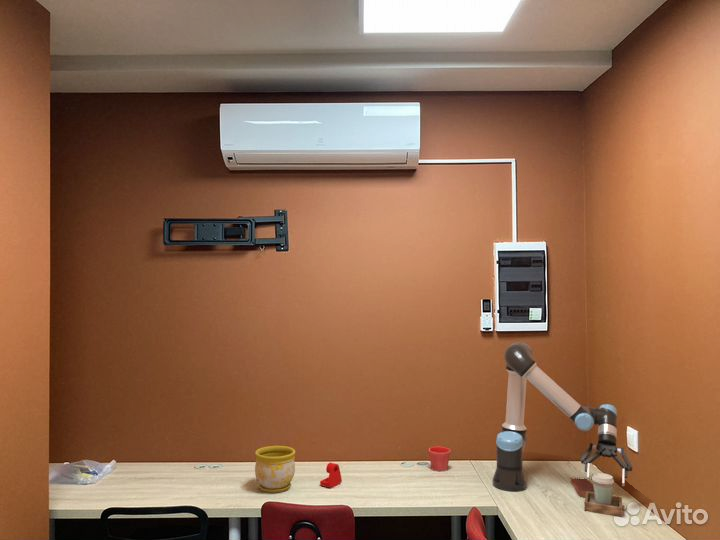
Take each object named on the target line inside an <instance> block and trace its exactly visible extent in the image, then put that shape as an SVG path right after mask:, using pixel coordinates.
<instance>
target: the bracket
mask: <svg viewBox="0 0 720 540" xmlns="http://www.w3.org/2000/svg"><path fill="white" fill-rule="evenodd" d="M325 470H326V473H327V474H328V477H325V478H324V479H321V480H319V482H320V483H319V485H320V486H322V487H326V488H329V489H331V488H335V487H338V486H339V485H340V484H341V483H342V481H343V478H342V474H341V470H340V466H339V464H338V463H333V462H329V463H327V464H326V469H325Z"/></svg>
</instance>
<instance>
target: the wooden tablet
mask: <svg viewBox="0 0 720 540" xmlns="http://www.w3.org/2000/svg"><path fill="white" fill-rule="evenodd" d="M574 478H575V479H571V481H570V483H571V482H572V483H571V484H572V486H573V488H574V490H575V492H576V494H577V496H578V497H579V496H580V498H581V497H582V498H583V499H585V496H586V491H588V492H594V486H593V482H591V480H590V479H589V480H587V478H586V479H585V478H584V477H583V478H584V479H580V478H581V477H574ZM576 478H577V479H576ZM578 478H579V479H578Z"/></svg>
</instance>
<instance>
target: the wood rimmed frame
mask: <svg viewBox="0 0 720 540" xmlns="http://www.w3.org/2000/svg"><path fill="white" fill-rule="evenodd" d="M583 505H584V506H583V507H584V508H583V510H584V512H587V511H588V513H594V514H601V515H606V516H610V517H611V516H612V517H619V518H623V496H620V495H614V494H612V500H611V506H609V505H603V504H597V503H595V495H594V492H588V491H586V496H585V498H584V504H583Z"/></svg>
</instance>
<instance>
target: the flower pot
mask: <svg viewBox="0 0 720 540" xmlns="http://www.w3.org/2000/svg"><path fill="white" fill-rule="evenodd" d="M428 455H429V462H430V466H431V470H433V471H435V472H445V471H447V469H448V467H449V461H450V456H451V449H450V448H447V447H444V446H432V447H430V448H428Z"/></svg>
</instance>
